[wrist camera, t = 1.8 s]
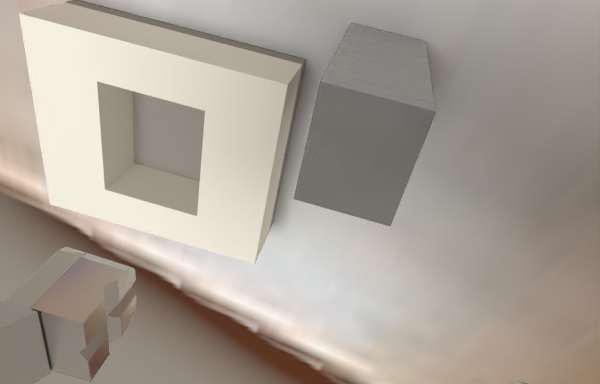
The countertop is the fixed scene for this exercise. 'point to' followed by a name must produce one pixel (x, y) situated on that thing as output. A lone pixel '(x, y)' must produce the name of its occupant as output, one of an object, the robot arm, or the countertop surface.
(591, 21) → the countertop surface
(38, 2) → the countertop surface
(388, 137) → the grey brushed prism
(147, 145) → the well block
